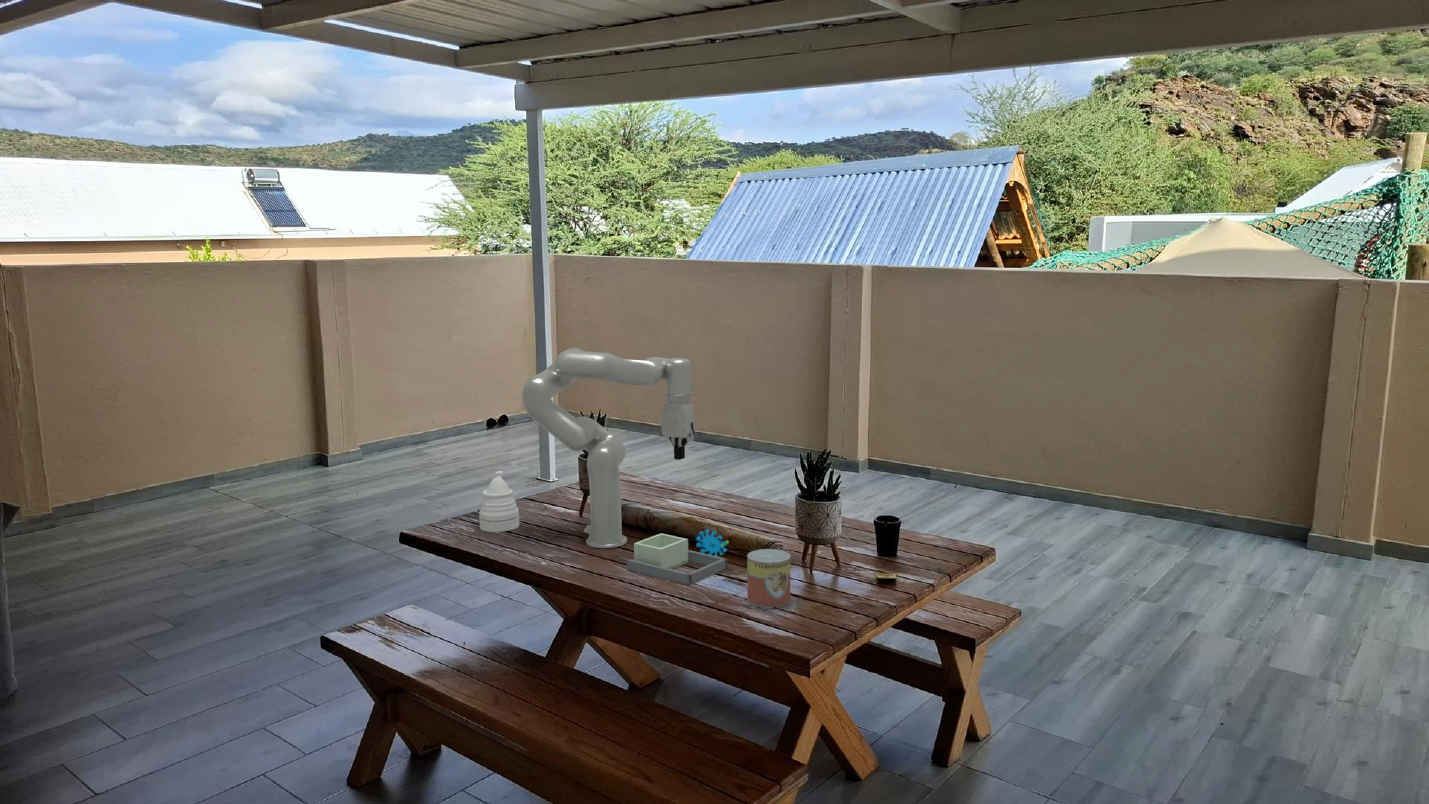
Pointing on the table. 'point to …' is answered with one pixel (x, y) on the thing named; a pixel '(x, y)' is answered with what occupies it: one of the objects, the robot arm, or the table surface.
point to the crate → (662, 551)
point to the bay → (712, 567)
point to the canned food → (768, 578)
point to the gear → (711, 543)
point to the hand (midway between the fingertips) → (679, 458)
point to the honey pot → (498, 507)
